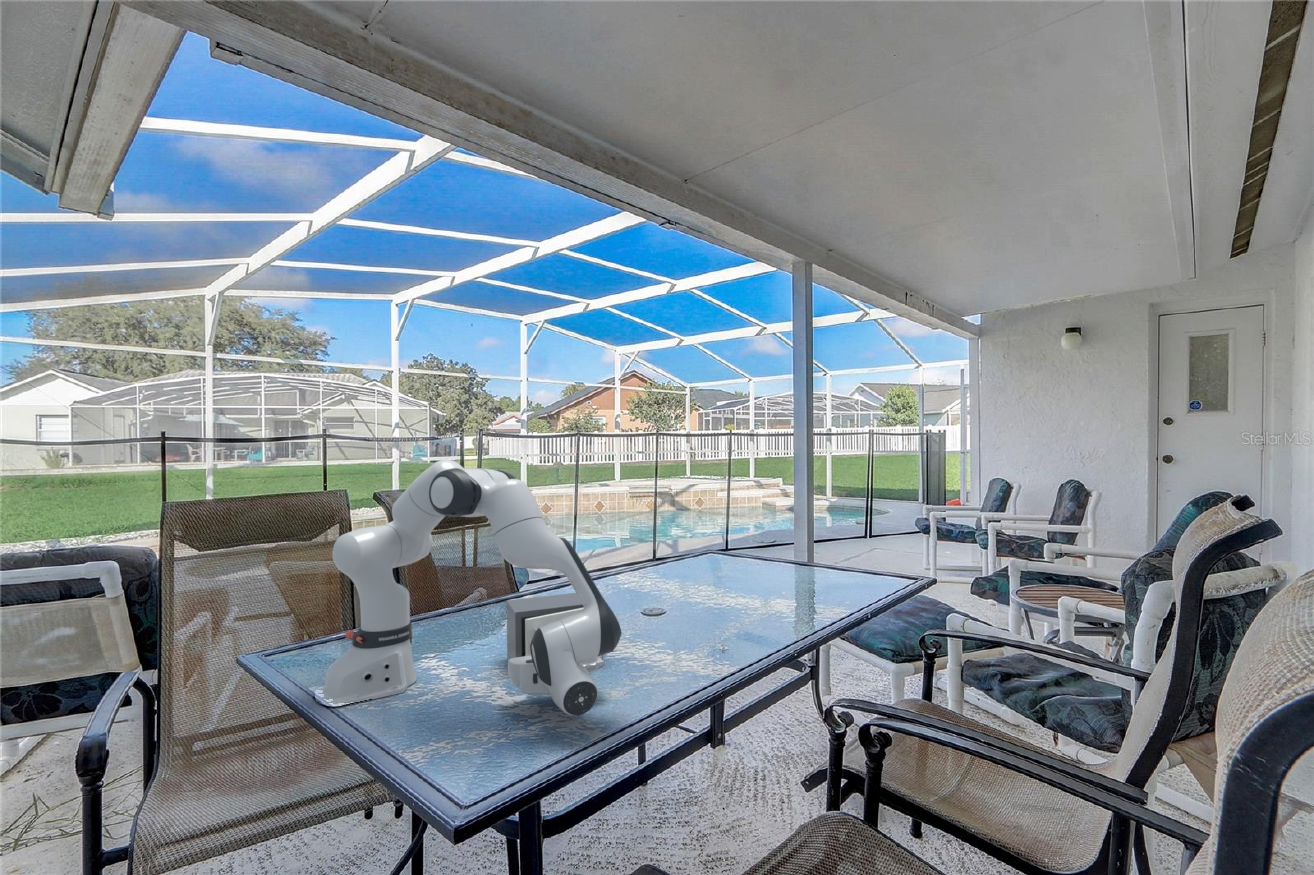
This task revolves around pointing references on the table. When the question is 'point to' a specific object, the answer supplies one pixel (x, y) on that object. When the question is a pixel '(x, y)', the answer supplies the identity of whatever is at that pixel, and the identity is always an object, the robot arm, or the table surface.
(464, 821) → the table surface
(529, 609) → the box
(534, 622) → the door
